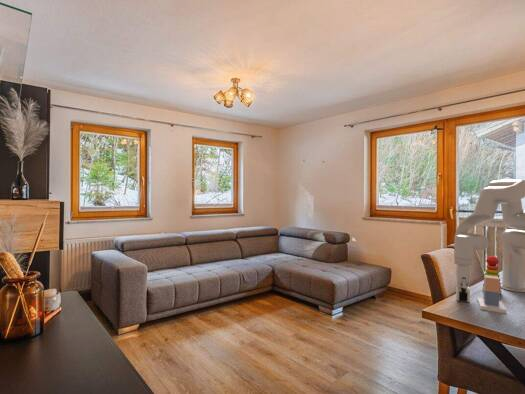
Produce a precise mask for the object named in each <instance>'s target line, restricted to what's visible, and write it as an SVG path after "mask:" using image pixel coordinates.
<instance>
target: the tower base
mask: <svg viewBox="0 0 525 394" xmlns="http://www.w3.org/2000/svg"><path fill="white" fill-rule="evenodd" d="M476 300H477V304H478V306H479V309H480V310H481V311H482V310H484V311H488V312H496V313H500V314H507V309H506V307H505V305H504V303H503V301H502V300H500V294H499V293H497V292H490V291H485V289H484V291H483V297H482V298H480V297H477V298H476Z"/></svg>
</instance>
